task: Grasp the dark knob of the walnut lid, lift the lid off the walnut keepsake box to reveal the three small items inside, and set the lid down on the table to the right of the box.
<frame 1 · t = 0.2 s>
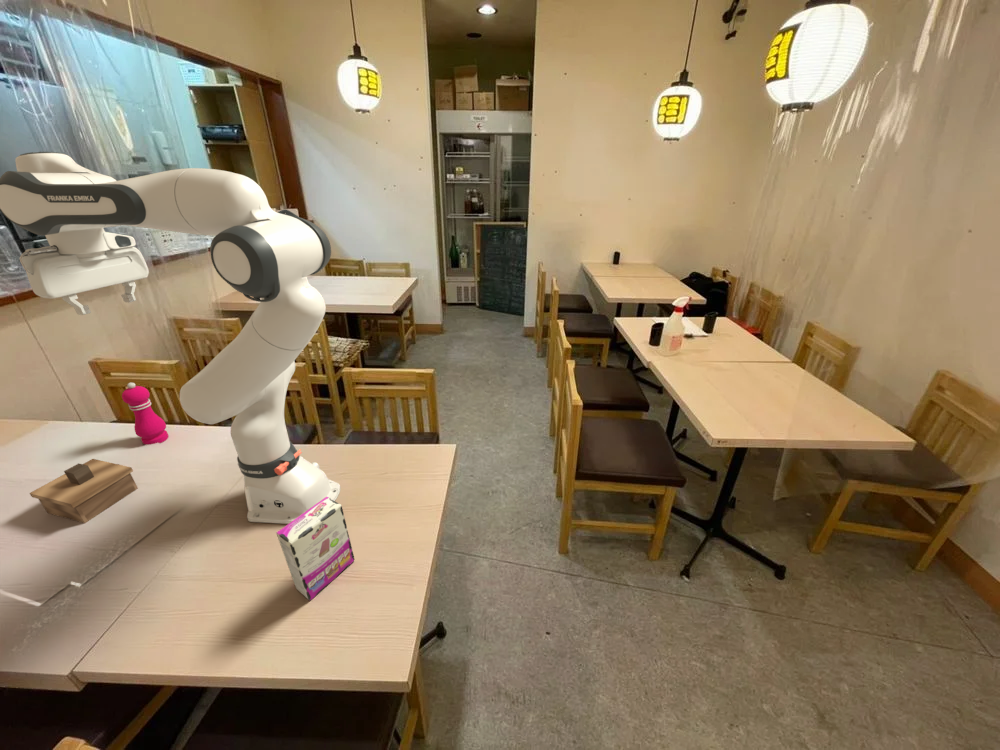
hand: (108, 307, 88), 47 cm above the table, fingers open, 8 cm apart
pepper mill: (156, 440, 123), on the table
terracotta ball: (97, 491, 102), point 1 cm above the table, touching walnut keepsake box
lid: (84, 483, 97), point 6 cm above the table, touching walnut keepsake box
walnut keepsake box: (95, 501, 100), on the table
candy bar box: (326, 575, 83), on the table
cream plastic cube: (83, 507, 97), point 1 cm above the table, touching walnut keepsake box
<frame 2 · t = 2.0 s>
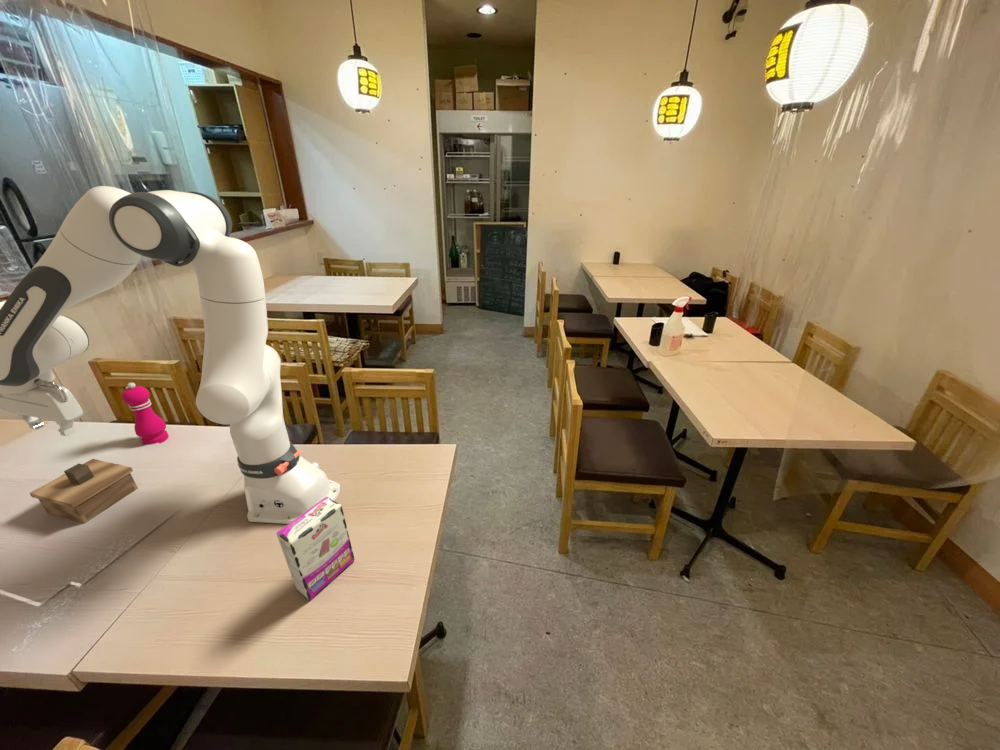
hand: (53, 431, 90), 21 cm above the table, fingers open, 8 cm apart
nothing on the table moved.
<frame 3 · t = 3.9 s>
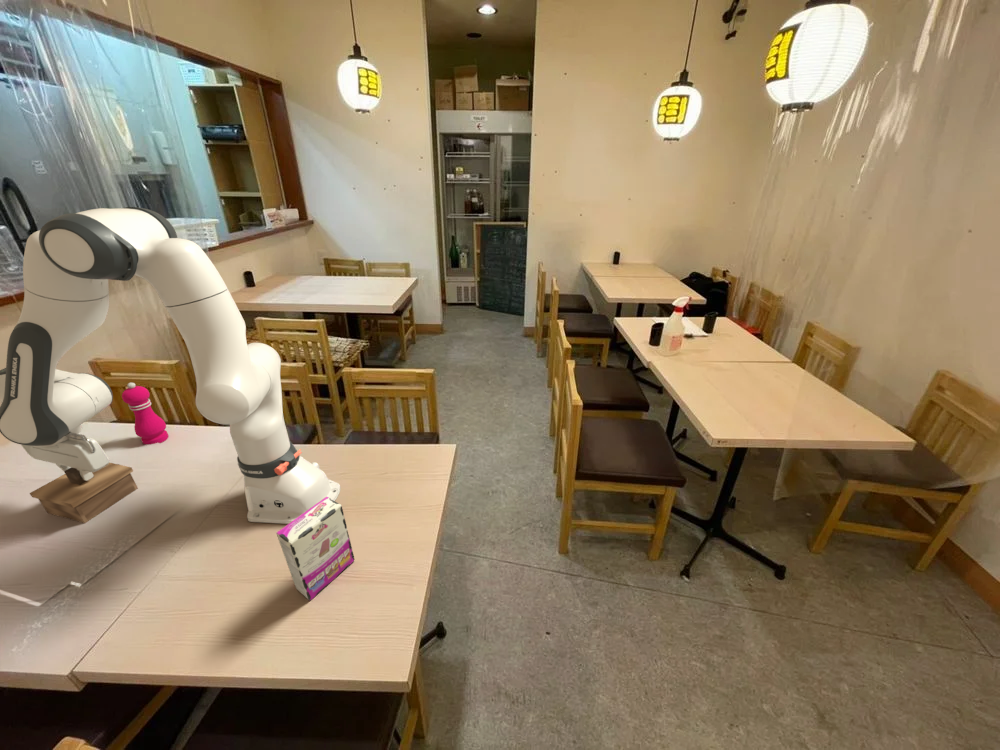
hand: (81, 476, 96), 8 cm above the table, fingers closed on lid, 3 cm apart
lid: (84, 483, 97), point 6 cm above the table, touching gripper, walnut keepsake box
everything else where it was.
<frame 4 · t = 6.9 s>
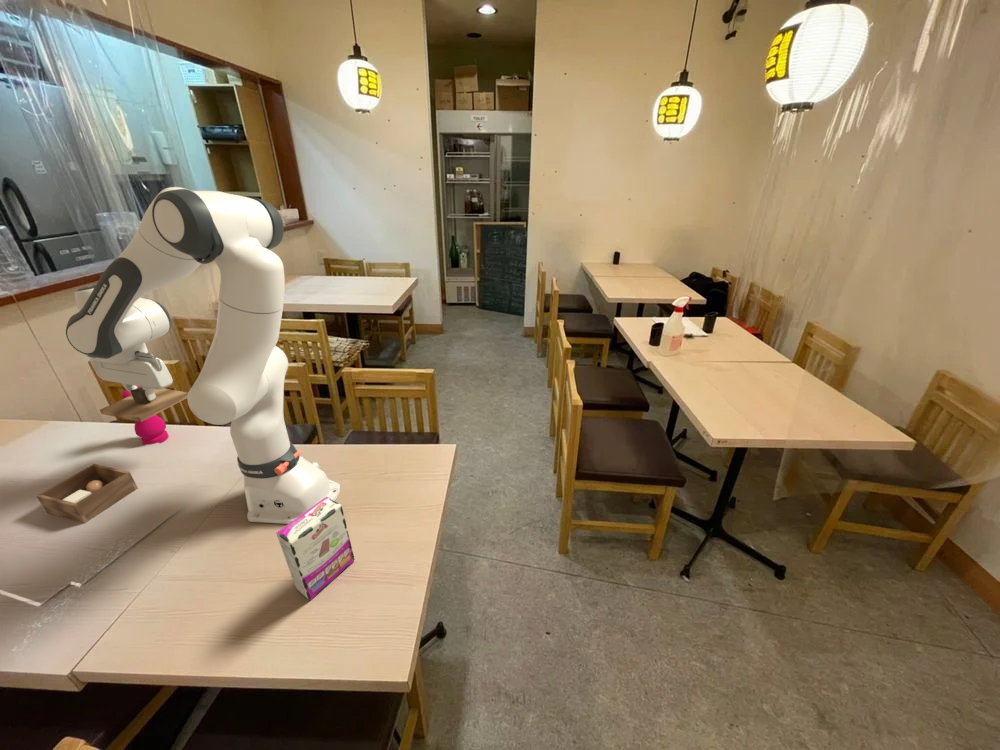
hand: (144, 398, 104), 21 cm above the table, fingers closed on lid, 3 cm apart
lid: (147, 404, 105), point 19 cm above the table, touching gripper
everything else where it was.
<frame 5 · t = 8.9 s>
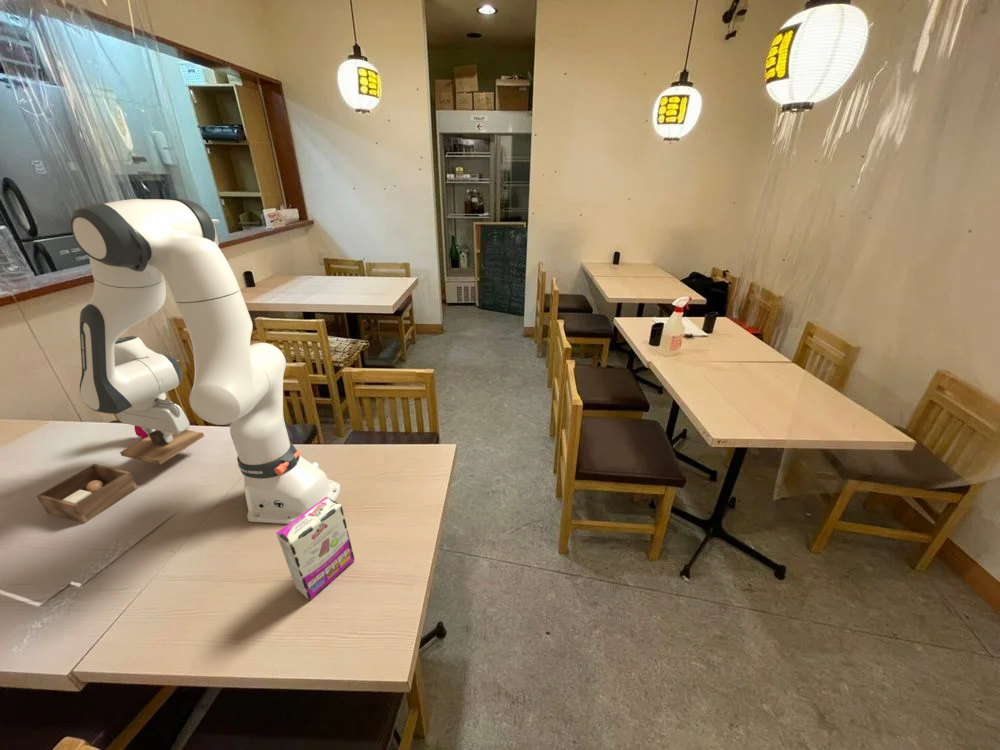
hand: (161, 439, 110), 8 cm above the table, fingers closed on lid, 3 cm apart
lid: (164, 445, 111), point 6 cm above the table, touching gripper
everything else where it was.
when the fingers open (4 cm above the table, at t = 10.1 s): lid drops 2 cm, on the table.
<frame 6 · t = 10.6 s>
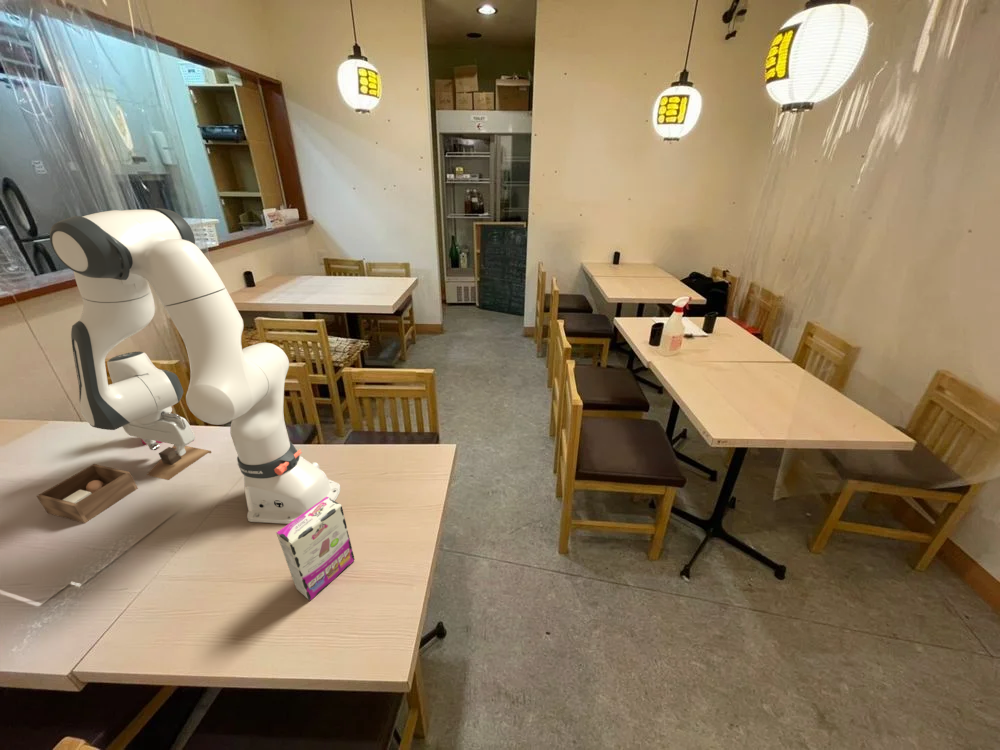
hand: (168, 451, 112), 4 cm above the table, fingers open, 8 cm apart
lid: (173, 464, 114), on the table
everything else where it was.
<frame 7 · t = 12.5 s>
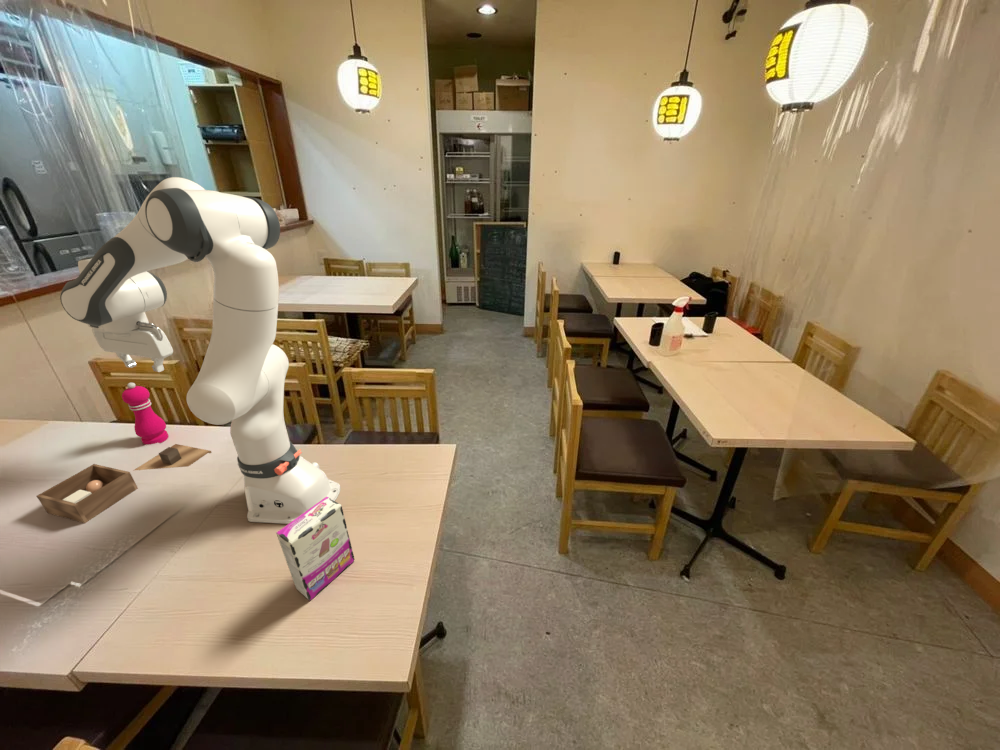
hand: (145, 368, 107), 27 cm above the table, fingers open, 8 cm apart
nothing on the table moved.
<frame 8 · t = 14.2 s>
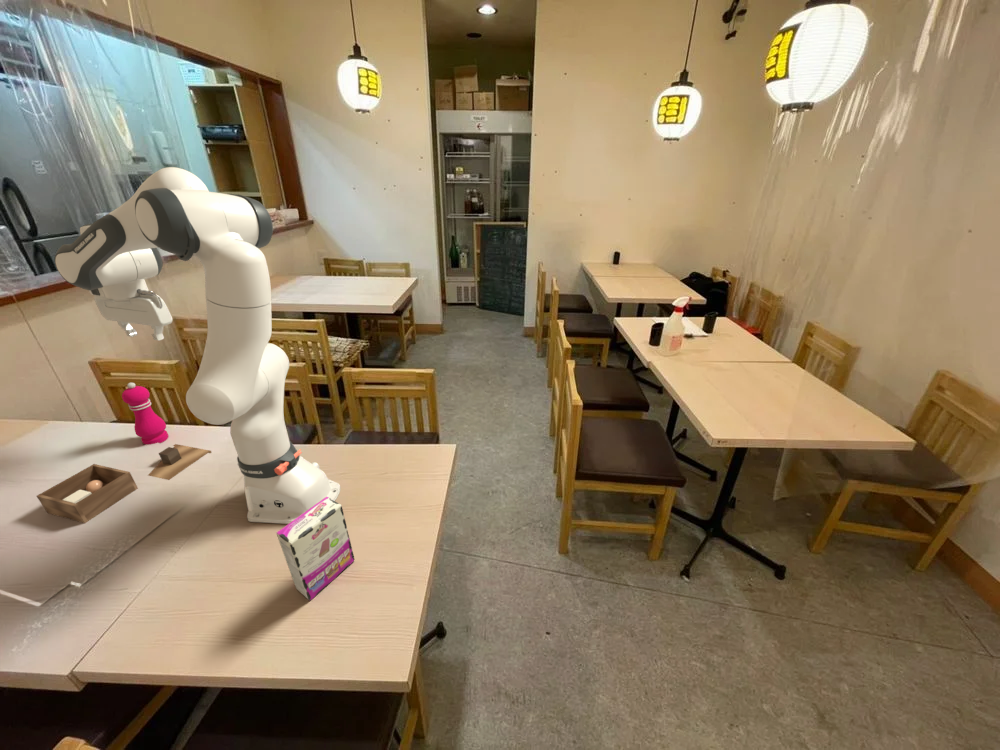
hand: (145, 337, 110), 33 cm above the table, fingers open, 8 cm apart
nothing on the table moved.
at the end: lid inside the target area (0.0 cm from its centre), on the table; lid touching table; lid tilted 0° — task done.
